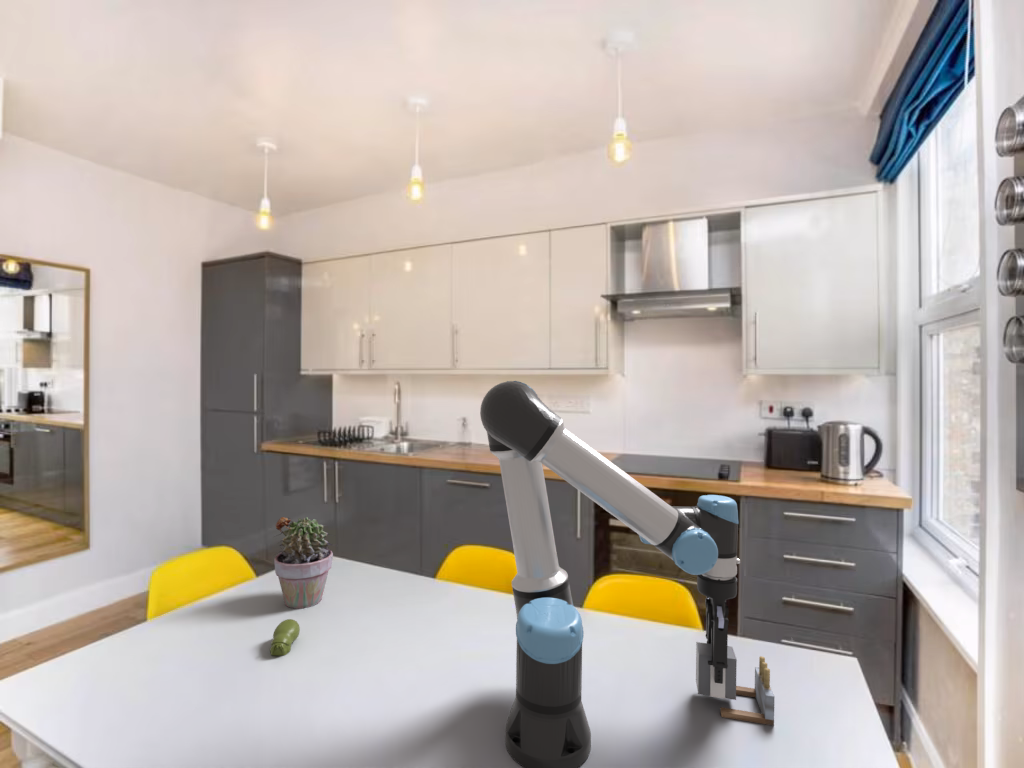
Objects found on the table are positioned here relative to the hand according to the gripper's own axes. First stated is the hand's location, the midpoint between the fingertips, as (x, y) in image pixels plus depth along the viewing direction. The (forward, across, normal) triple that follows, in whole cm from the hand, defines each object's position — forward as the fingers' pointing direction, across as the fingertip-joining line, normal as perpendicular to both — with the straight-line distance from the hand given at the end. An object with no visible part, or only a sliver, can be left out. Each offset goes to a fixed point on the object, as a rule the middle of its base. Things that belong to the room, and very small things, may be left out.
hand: (715, 687), depth 105 cm
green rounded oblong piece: (+2, -6, +97) cm, 97 cm away
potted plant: (+2, +18, +108) cm, 110 cm away
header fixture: (+3, 0, -5) cm, 6 cm away
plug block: (0, 0, 0) cm, 0 cm away
